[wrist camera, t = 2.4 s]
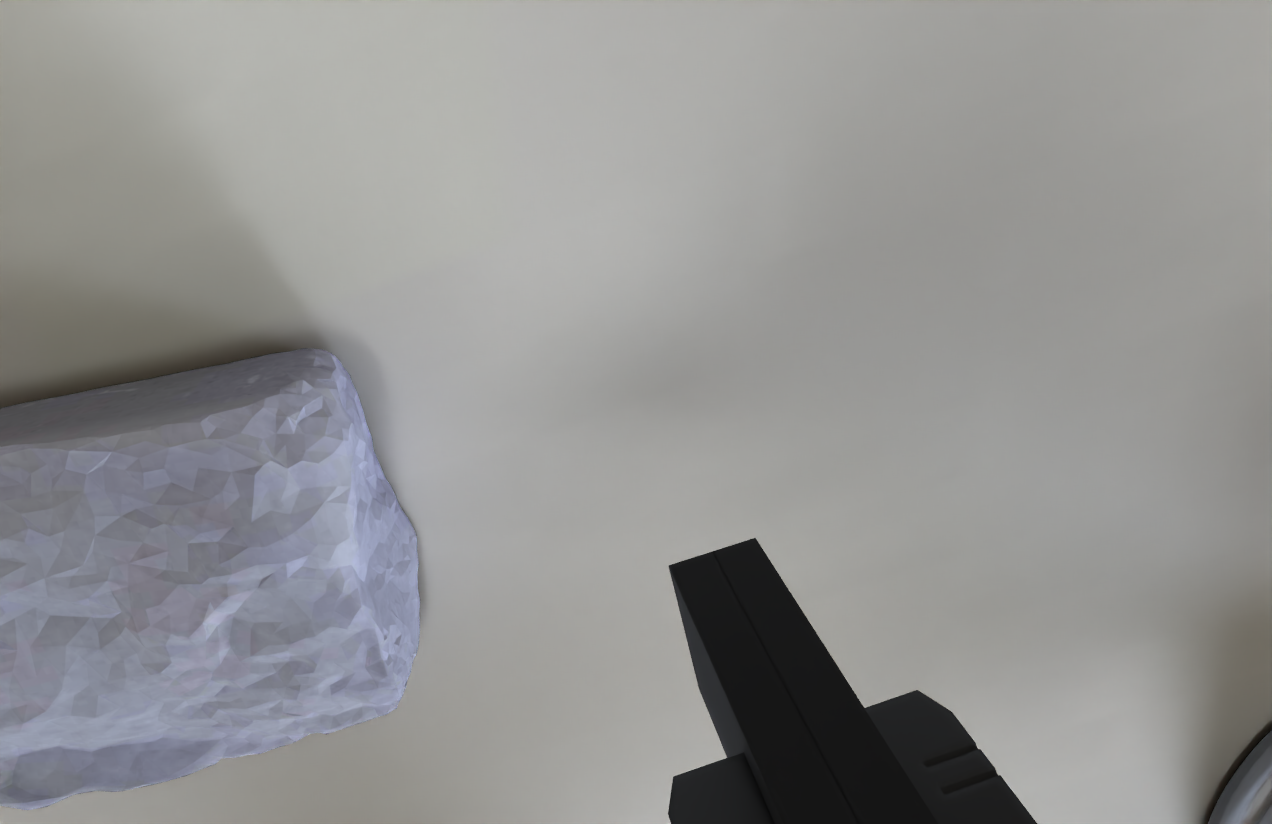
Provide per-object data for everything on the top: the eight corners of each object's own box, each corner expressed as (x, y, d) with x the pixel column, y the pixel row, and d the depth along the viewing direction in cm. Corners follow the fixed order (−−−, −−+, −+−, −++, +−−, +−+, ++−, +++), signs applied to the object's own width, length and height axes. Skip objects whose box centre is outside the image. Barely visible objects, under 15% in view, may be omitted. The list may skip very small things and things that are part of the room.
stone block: (449, 596, 25) (342, 298, 19) (454, 739, 21) (322, 423, 16) (28, 692, 24) (-224, 408, 18) (-47, 861, 20) (-396, 571, 14)
